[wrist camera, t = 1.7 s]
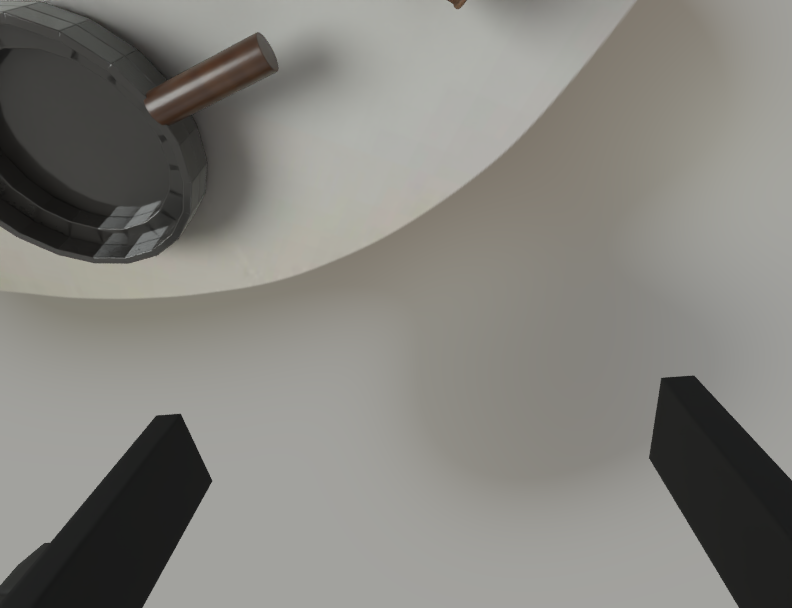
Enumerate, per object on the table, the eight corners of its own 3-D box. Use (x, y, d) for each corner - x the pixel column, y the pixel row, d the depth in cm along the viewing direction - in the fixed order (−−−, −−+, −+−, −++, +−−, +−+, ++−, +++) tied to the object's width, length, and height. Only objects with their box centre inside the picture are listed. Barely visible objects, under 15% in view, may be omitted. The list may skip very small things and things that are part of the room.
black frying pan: (-58, 160, 33) (-104, 185, 30) (-44, -76, 24) (-108, -75, 21) (168, 265, 40) (150, 295, 37) (245, 115, 31) (229, 137, 28)
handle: (175, 119, 29) (163, 131, 27) (151, 87, 28) (137, 98, 26) (281, 66, 27) (274, 76, 25) (261, 28, 26) (252, 36, 24)
